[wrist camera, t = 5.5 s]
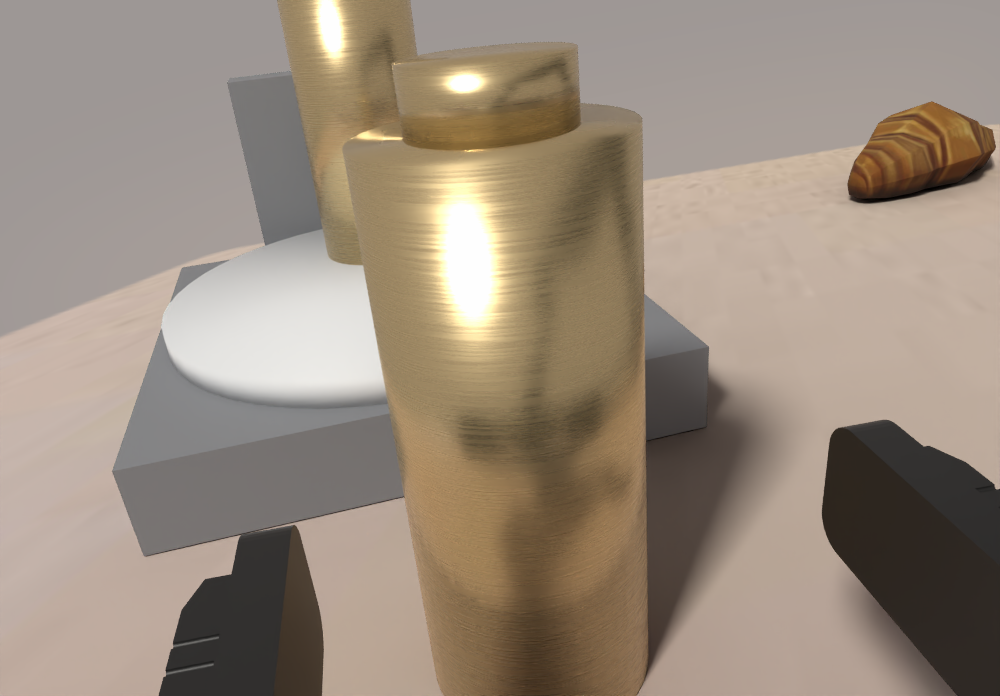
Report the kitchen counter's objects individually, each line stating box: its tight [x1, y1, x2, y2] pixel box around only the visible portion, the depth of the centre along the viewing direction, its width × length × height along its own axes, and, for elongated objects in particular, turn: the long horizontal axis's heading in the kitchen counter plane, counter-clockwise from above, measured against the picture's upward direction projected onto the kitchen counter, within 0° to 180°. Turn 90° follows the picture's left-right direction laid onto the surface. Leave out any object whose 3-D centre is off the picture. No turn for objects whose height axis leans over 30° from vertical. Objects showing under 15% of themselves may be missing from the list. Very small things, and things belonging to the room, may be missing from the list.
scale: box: [112, 71, 709, 556], centre depth 31 cm, size 18×21×11 cm
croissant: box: [848, 102, 996, 199], centre depth 48 cm, size 14×7×5 cm, turn 123°
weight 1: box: [277, 0, 417, 265], centre depth 31 cm, size 5×5×13 cm
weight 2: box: [342, 42, 648, 696], centre depth 15 cm, size 5×5×13 cm
